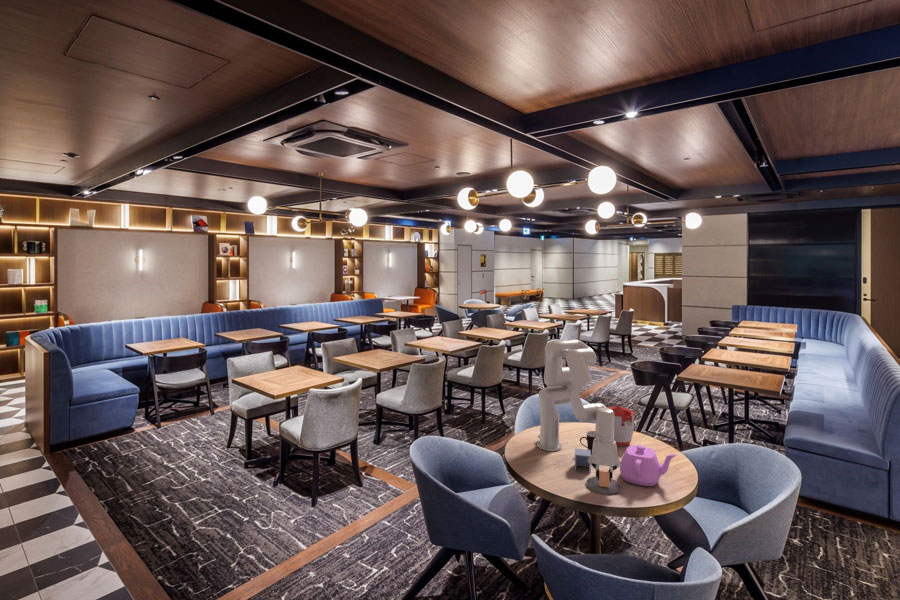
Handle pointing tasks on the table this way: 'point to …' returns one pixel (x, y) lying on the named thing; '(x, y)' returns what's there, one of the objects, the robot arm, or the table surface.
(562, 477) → the table surface
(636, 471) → the teapot
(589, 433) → the coffee mug
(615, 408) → the red and white bucket
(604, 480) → the terracotta block
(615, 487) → the charcoal dish
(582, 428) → the table surface
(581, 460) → the grey angular piece
